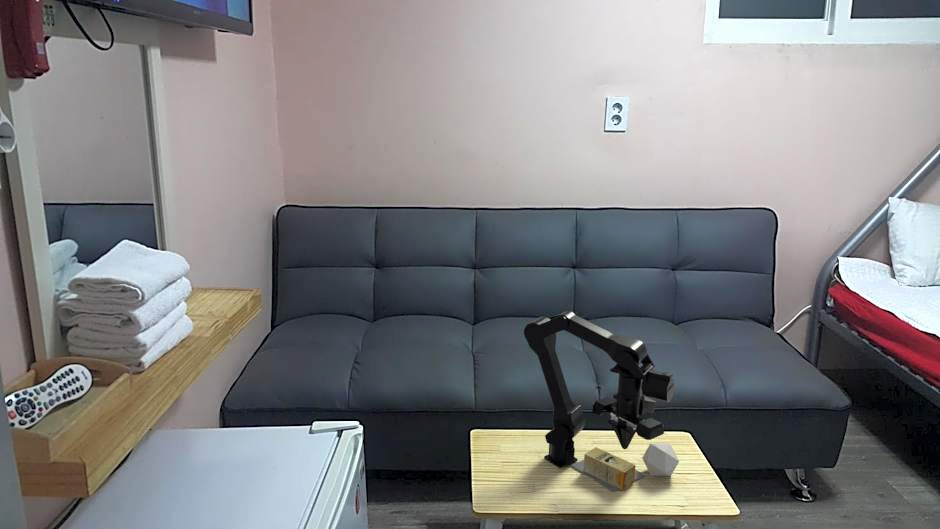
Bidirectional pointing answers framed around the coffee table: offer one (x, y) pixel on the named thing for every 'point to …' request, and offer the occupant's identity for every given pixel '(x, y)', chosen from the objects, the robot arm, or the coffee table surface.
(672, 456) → the die
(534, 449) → the coffee table surface
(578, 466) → the mat
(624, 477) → the shoe polish box
